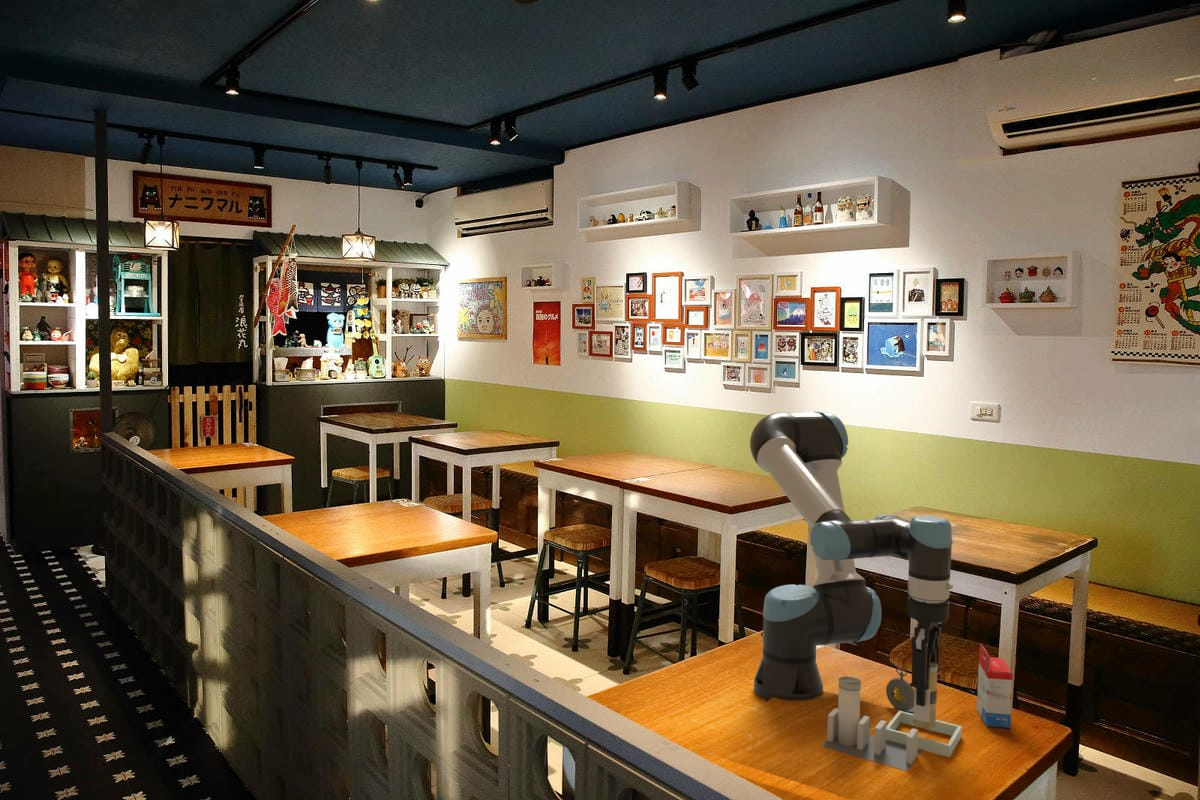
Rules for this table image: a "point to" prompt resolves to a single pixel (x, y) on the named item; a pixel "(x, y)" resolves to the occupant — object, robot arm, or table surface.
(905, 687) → the pocket watch
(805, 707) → the table surface
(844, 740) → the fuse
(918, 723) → the cylinder
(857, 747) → the fuse board
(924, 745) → the parts tray
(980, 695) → the ink box
